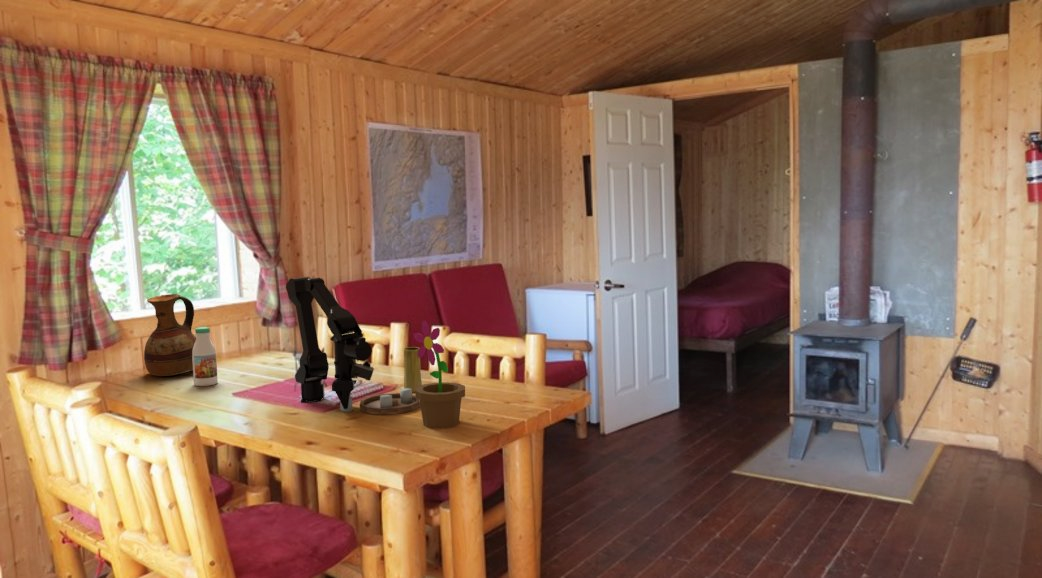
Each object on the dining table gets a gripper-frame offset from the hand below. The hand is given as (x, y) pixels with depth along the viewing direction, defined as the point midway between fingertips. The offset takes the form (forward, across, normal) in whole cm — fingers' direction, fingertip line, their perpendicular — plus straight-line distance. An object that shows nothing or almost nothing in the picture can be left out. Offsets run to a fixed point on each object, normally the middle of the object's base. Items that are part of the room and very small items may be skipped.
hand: (346, 407), depth 233 cm
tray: (+1, +2, -13) cm, 13 cm away
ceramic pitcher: (+1, +64, +68) cm, 93 cm away
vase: (+1, +21, -20) cm, 29 cm away
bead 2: (0, -3, -12) cm, 13 cm away
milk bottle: (+1, +44, +52) cm, 68 cm away
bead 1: (+1, 0, 0) cm, 1 cm away
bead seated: (0, +4, -18) cm, 18 cm away
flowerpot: (+1, -19, -28) cm, 34 cm away
